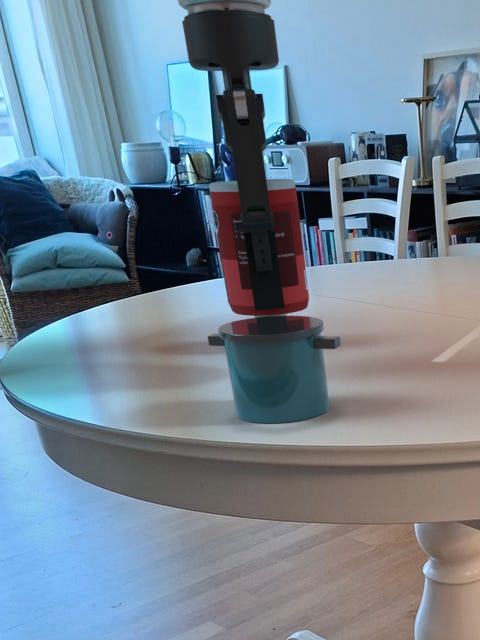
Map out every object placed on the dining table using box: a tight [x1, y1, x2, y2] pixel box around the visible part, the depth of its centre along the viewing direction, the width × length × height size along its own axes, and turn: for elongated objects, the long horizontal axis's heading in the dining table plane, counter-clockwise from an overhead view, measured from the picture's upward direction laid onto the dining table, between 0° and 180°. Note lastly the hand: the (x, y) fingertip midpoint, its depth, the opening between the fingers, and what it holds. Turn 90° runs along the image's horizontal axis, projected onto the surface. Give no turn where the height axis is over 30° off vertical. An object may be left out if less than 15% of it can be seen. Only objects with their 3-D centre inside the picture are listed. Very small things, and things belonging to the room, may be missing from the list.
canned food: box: [208, 178, 310, 317], centre depth 82 cm, size 8×8×11 cm
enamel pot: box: [207, 315, 342, 424], centre depth 74 cm, size 9×12×7 cm
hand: (269, 301), depth 84 cm, fingers closed on canned food, 8 cm apart
